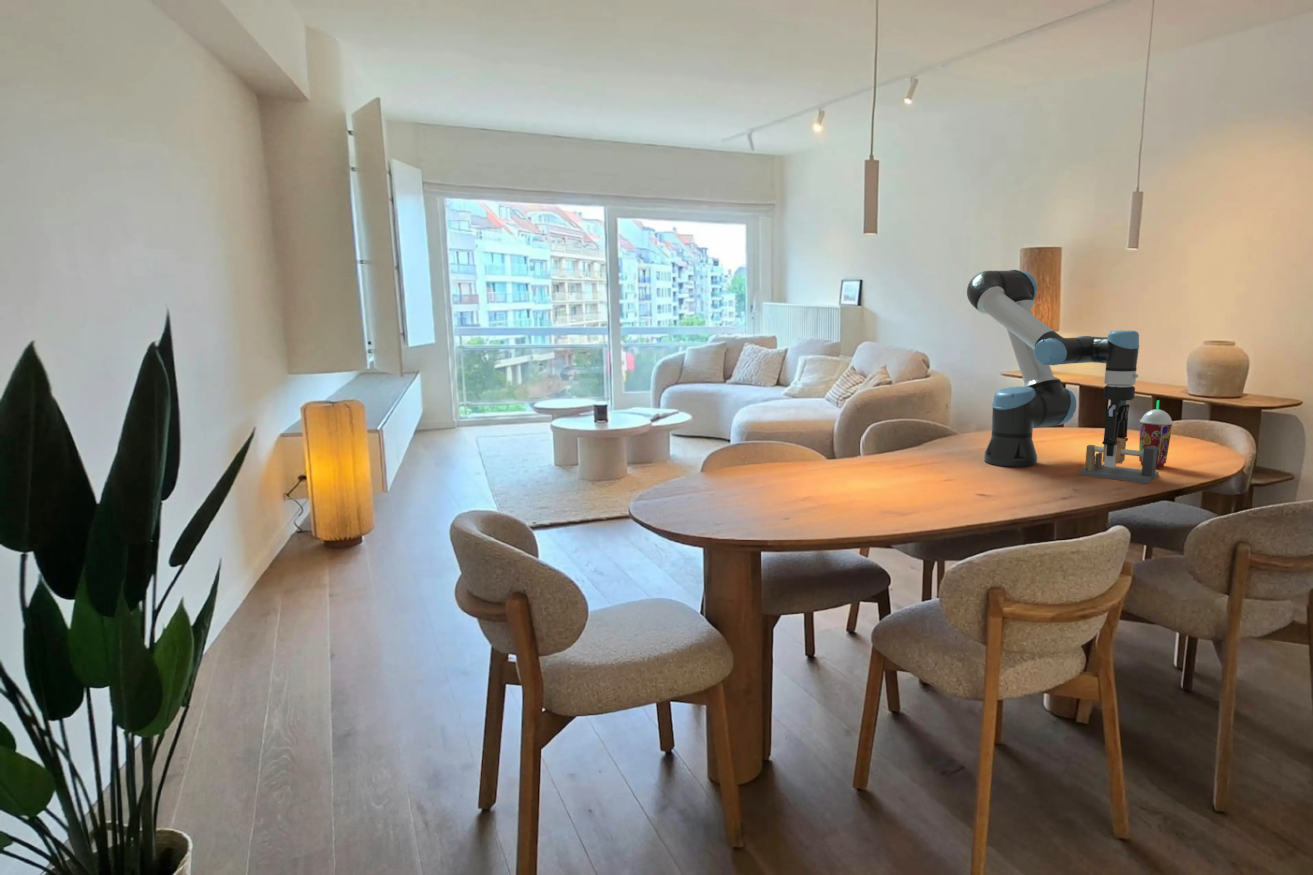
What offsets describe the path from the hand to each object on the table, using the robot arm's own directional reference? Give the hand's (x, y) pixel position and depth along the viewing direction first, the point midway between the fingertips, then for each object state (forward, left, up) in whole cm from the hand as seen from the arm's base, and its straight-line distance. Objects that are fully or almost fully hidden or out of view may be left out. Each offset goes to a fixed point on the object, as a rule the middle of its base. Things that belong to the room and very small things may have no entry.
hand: (1113, 464), depth 217 cm
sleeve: (0, 0, +1) cm, 1 cm away
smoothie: (+6, +19, -3) cm, 20 cm away
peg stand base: (+2, 0, -3) cm, 3 cm away
